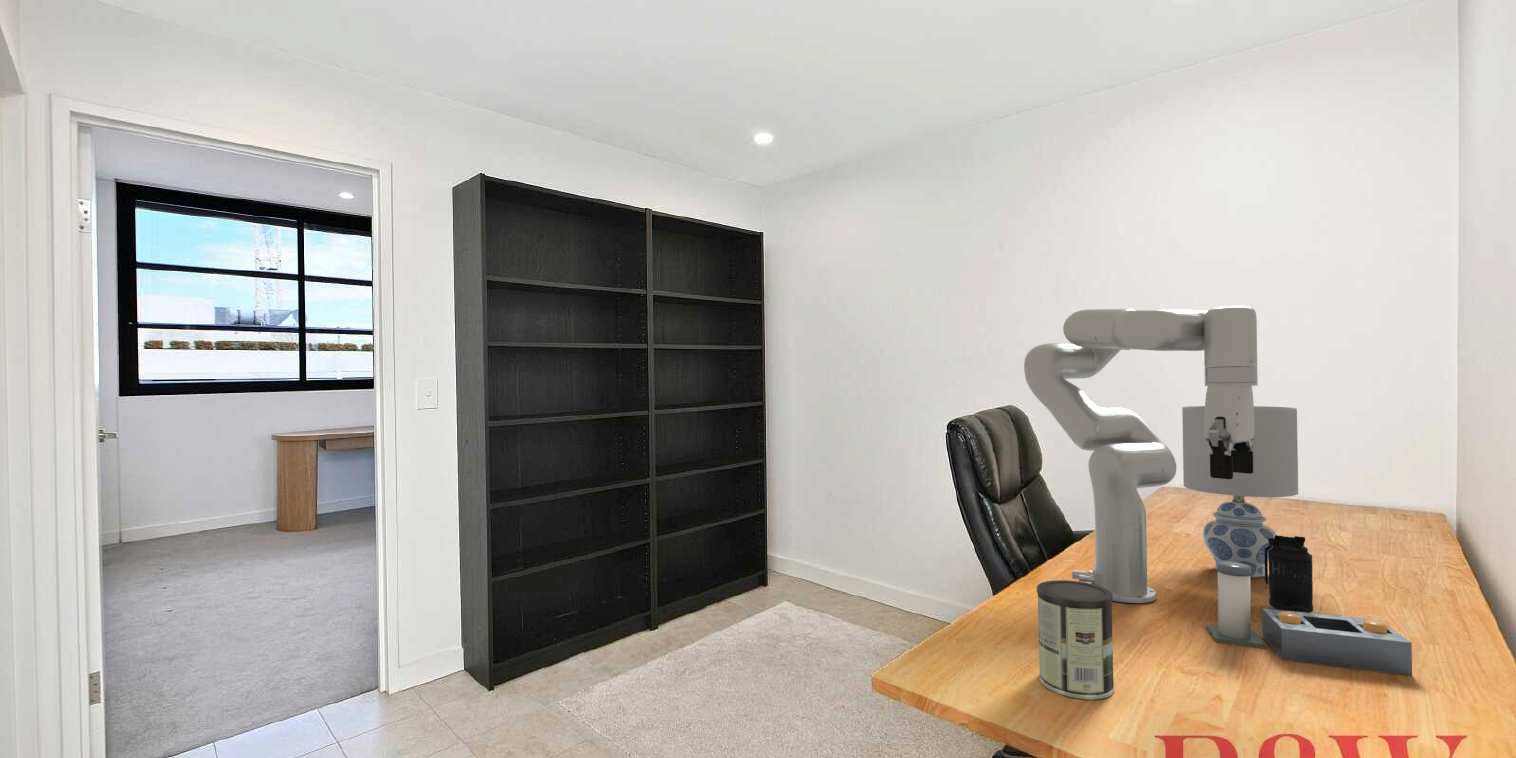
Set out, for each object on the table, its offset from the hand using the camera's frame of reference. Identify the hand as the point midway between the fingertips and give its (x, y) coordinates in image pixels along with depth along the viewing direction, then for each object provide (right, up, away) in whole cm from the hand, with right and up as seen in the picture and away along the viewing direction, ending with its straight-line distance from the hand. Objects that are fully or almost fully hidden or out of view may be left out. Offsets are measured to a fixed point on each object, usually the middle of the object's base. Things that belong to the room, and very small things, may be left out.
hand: (1232, 475), depth 115 cm
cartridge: (0, -28, 0) cm, 28 cm away
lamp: (+29, -28, +38) cm, 55 cm away
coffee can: (-35, -29, -16) cm, 49 cm away
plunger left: (+6, -27, -5) cm, 29 cm away
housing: (+11, -28, -8) cm, 31 cm away
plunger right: (+16, -27, -10) cm, 33 cm away
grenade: (+19, -28, +11) cm, 35 cm away
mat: (0, -28, 0) cm, 28 cm away
